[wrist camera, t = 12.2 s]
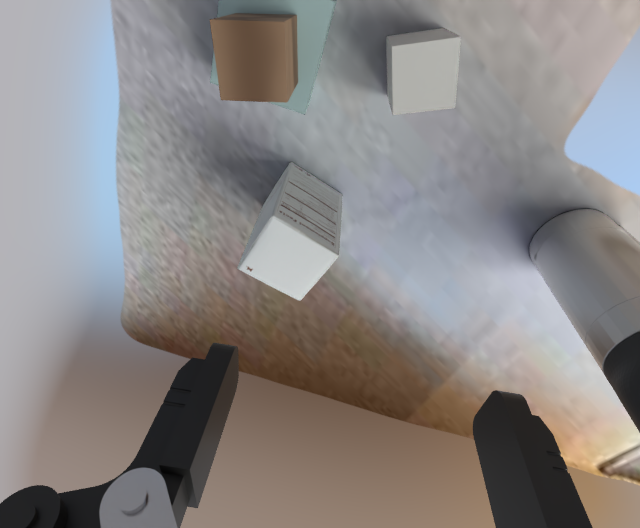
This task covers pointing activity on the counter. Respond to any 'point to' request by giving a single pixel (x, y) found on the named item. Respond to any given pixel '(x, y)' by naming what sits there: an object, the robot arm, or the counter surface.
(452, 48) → the grey block
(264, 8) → the pedestal block
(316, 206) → the supplement box
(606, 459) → the counter surface
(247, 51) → the walnut block
